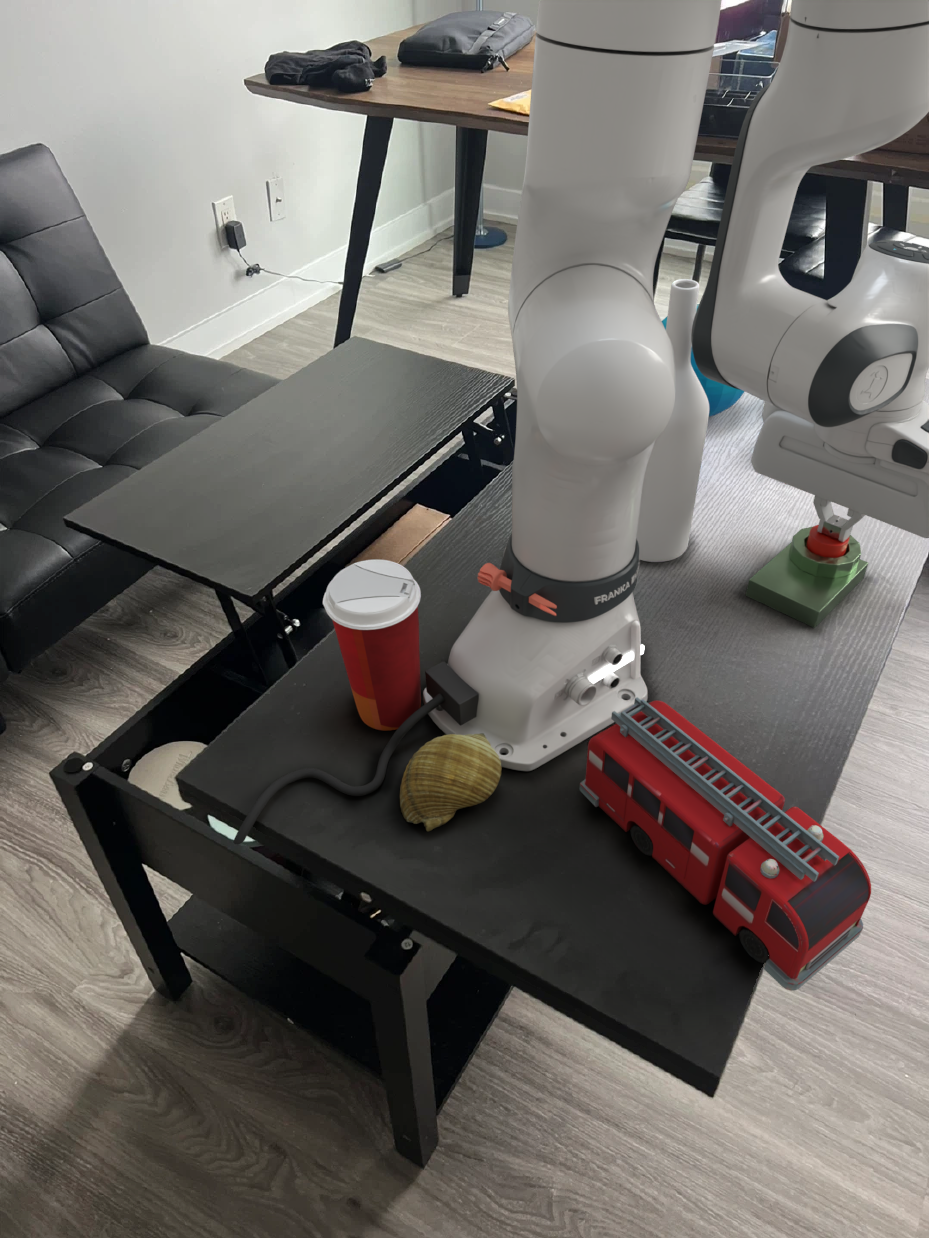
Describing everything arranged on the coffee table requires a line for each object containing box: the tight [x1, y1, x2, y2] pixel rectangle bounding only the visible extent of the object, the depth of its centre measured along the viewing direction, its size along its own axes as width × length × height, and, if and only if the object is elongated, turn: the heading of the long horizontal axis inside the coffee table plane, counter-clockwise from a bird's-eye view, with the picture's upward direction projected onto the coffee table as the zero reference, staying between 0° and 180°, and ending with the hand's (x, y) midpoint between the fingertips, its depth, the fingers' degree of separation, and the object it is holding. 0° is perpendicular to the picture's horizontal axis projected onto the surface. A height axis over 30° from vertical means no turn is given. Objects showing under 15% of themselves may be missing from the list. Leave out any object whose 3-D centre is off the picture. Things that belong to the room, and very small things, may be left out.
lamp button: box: [806, 524, 849, 558], centre depth 97 cm, size 4×4×2 cm
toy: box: [579, 697, 872, 992], centre depth 69 cm, size 8×22×10 cm, turn 35°
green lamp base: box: [745, 525, 869, 629], centre depth 97 cm, size 12×8×4 cm, turn 136°
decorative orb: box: [661, 303, 746, 418], centre depth 123 cm, size 15×15×15 cm
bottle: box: [636, 278, 710, 563], centre depth 95 cm, size 8×8×30 cm
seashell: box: [399, 733, 503, 832], centre depth 77 cm, size 10×7×8 cm
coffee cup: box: [322, 558, 422, 732], centre depth 81 cm, size 8×8×15 cm
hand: (833, 534), depth 96 cm, fingers closed, pressing on lamp button
